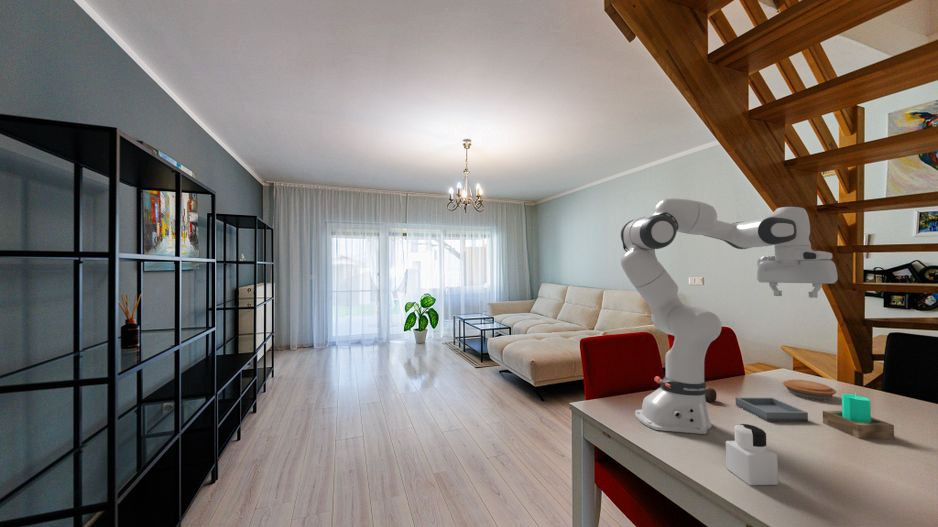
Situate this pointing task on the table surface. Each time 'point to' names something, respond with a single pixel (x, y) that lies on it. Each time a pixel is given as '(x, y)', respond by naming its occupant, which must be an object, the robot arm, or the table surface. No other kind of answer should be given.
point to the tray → (772, 409)
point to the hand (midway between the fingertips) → (794, 296)
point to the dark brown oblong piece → (710, 395)
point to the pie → (809, 389)
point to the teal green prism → (856, 408)
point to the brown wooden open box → (859, 426)
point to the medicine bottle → (751, 456)
